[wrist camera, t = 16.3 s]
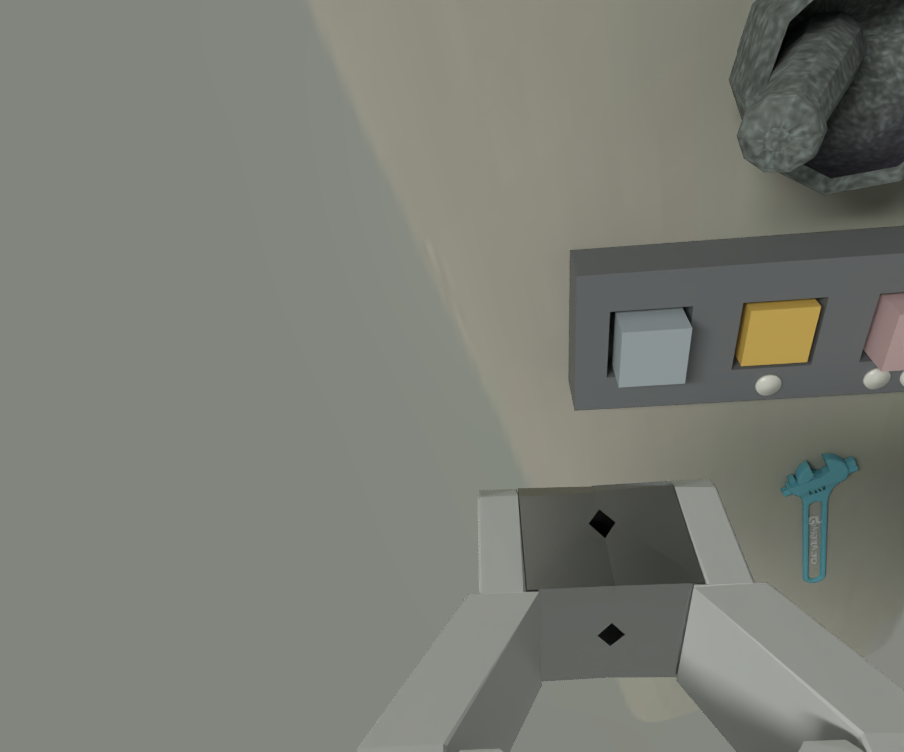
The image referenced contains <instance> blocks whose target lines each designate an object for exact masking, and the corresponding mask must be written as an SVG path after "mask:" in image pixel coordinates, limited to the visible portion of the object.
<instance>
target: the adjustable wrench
mask: <svg viewBox="0 0 904 752" xmlns="http://www.w3.org/2000/svg"><path fill="white" fill-rule="evenodd" d="M822 456H823V458H824V460H825V463H826V465H827V466H824V467H823V468H822V469H820V470H812V471H811V469H810V466H809V465H808V463H807V461H806V460H805V461H804V462H803V463H802V464H801V465H800V466H799V467H798V469H797V470H796V473H795V478H794V476H793V474H792V475H790V476H787V478H788V480H789V482H786V483H785V485H786V487H785V488H782V489H781V491H782V493H783V495H784V497H786V496H788V495H791V494H794V495H796V496H800V497H801V499H802V502H803V579H804V580H805V581H806V582H809V583H816V582H819V581H821V580H822V579H823V578H824V577H825V573H826V541H827V509H828V498H829V495H830V492H831V490H832V489H833V488H834V486H835V485H837V484H838V483H840V482H841V481H843V480H845V479H846V478H847V476H848V474H850V473H852V472H855V471H858V467H857V465H856V463H855V460H854V458H853V457H849V458H846V459H844V460H843V459H842V458H841V457H839V456H837V455H834V454H822ZM789 483H790V484H789ZM809 492H811V493H809ZM816 501H820V502H821V521H818V520H819V516H812V517H809V505H810V504H811V503H813V502H816ZM813 518H816V521H815V520H814V519H813ZM811 519H813V520H812V522H811ZM809 522H810V523H809ZM814 523H816V524H817V523H821V545H820V575H819V576H818V577H816V578H809V577H808V533H809V532H810V531H811V530H810V531H809V525H811V524H814ZM813 526H815V525H812V531H813ZM817 528H818V529H819V527H817V525H816V527H814V530H817ZM816 532H817V531H816ZM816 532H810V533H812V534H813V535H816V536H815V537H816V538H815V537H813V535H812V537H810V536H811V535H810V536H809V537H810V538H811V539H816V540H815V541H816V542H817V534H816ZM818 533H819V532H818ZM812 541H814V540H811V544H809V545H811V546H812V547H811V548H815V549H811V550H816V549H817V547H819V546H817V543H816V542H815V541H814V542H812ZM813 544H816V545H814V546H813ZM812 553H813V551H812V552H811V556H812V557H816V556H817V552H816V551H815V553H816V555H815V553H814V554H813V555H812ZM812 557H811V563H812V564H816V562H817V558H812ZM812 560H816V561H815V562H812Z"/></svg>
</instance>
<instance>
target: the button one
mask: <svg viewBox="0 0 904 752" xmlns="http://www.w3.org/2000/svg"><path fill="white" fill-rule="evenodd" d="M820 310H821V305H820V304H819V303H818V302H817V300H816V299H815V298H809V299H794V300H779V301H765V302H750V303H743V308H742V314H741V319H740V325H739V331H738V336H737V342H736V347H735V353H734V354H735V356H736V358H737V360H738V362H739V363H740V365H741V366H753V365H770V364H786V363H802V362H807V361H808V357H809V353H810V349H811V345H812V341H813V337H814V333H815V329H816V325H817V321H818V317H819V314H820Z"/></svg>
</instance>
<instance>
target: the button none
mask: <svg viewBox="0 0 904 752" xmlns="http://www.w3.org/2000/svg"><path fill="white" fill-rule="evenodd" d="M691 335H692V326H691V324H690V322H689V320H688V318H687V316H686V314H685V312H684V310H683V308H682V307H675V308H661V309H646V310H631V311H616V312H615V321H614V339H613V357H612V366H613V369H614V373H615V376H616V380H617V383H618V387H619V388H620V387H636V386H653V385H669V384H685V380H686V372H687V365H688V357H689V350H690V342H691Z"/></svg>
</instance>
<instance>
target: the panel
mask: <svg viewBox="0 0 904 752" xmlns="http://www.w3.org/2000/svg"><path fill="white" fill-rule="evenodd" d="M898 292H904V226H897V227H883V228H869V229H856V230H842V231H828V232H815V233H801V234H787V235H774V236H760V237H746V238H733V239H719V240H706V241H692V242H678V243H665V244H651V245H637V246H624V247H610V248H596V249H583V250H570V300H569V385H570V390H571V395H572V400H573V405H574V410H575V411H577V410H594V409H611V408H628V407H645V406H663V405H680V404H697V403H714V402H731V401H748V400H765V399H782V398H799V397H817V396H834V395H851V394H868V393H885V392H902V391H904V370H901V371H884V372H881V371H880V370H879V369H878V367H877V366H876V365H875V364H874V362H873V361H872V360H871V359H870V357H869V356H868V355H867V354H866V352H865V351H864V350H863V348H864V345H865V341H866V338H867V335H868V332H869V328H870V325H871V322H872V319H873V315H874V312H875V309H876V306H877V302H878V299H879V296H880V294H883V293H898ZM809 298H815V299H816V300H817V302H818V303H819V304H820V305H821V310H820V314H819V317H818V321H817V325H816V329H815V333H814V337H813V341H812V345H811V349H810V353H809V357H808V361H807V362H802V363H786V364H770V365H753V366H741V365H740V363H739V362H738V360H737V358H736V356H735V354H734V353H735V347H736V342H737V336H738V331H739V325H740V319H741V314H742V308H743V303H750V302H765V301H779V300H794V299H809ZM675 307H682V308H683V310H684V312H685V314H686V316H687V318H688V320H689V322H690V324H691V326H692V335H691V342H690V350H689V357H688V365H687V372H686V380H685V384H669V385H653V386H636V387H620V388H619V387H618V383H617V380H616V376H615V373H614V369H613V366H612V357H613V339H614V321H615V312H616V311H631V310H646V309H661V308H675Z"/></svg>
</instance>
